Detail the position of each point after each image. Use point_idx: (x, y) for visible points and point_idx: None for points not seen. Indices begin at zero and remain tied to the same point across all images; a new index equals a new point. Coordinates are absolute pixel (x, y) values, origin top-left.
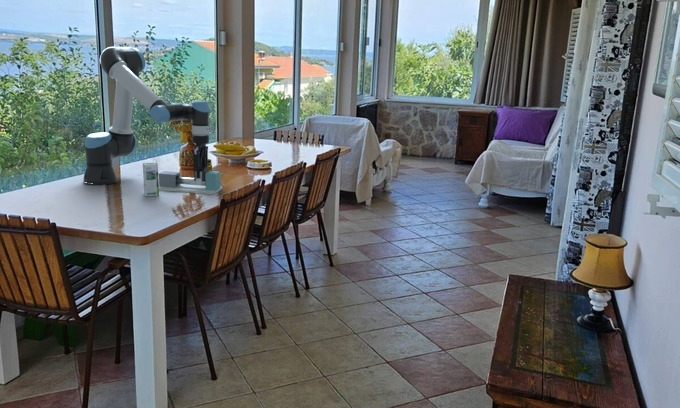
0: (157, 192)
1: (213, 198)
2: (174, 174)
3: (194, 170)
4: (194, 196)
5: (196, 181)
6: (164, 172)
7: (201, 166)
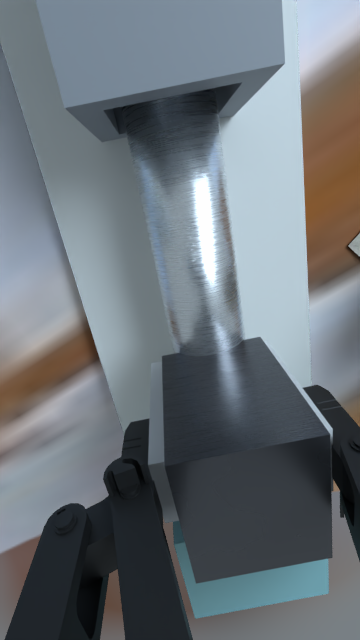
0: None
1: (49, 514)
2: (77, 86)
3: (60, 517)
4: (13, 409)
5: (152, 385)
6: None
7: (324, 492)
